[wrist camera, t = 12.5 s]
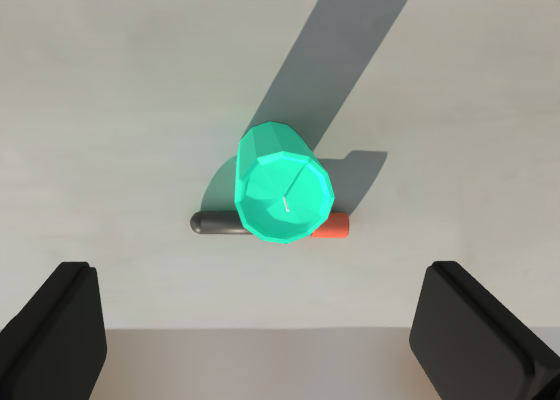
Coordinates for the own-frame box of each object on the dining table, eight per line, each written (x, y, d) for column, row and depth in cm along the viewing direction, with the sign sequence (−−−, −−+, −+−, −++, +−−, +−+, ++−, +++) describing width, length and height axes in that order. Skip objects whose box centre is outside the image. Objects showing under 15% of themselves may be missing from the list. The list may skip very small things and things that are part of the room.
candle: (305, 119, 30) (341, 154, 19) (306, 186, 32) (339, 252, 21) (233, 123, 30) (228, 161, 19) (239, 191, 32) (238, 261, 21)
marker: (192, 229, 33) (188, 241, 31) (191, 206, 32) (187, 216, 30) (340, 230, 34) (347, 242, 32) (343, 208, 34) (350, 219, 32)
